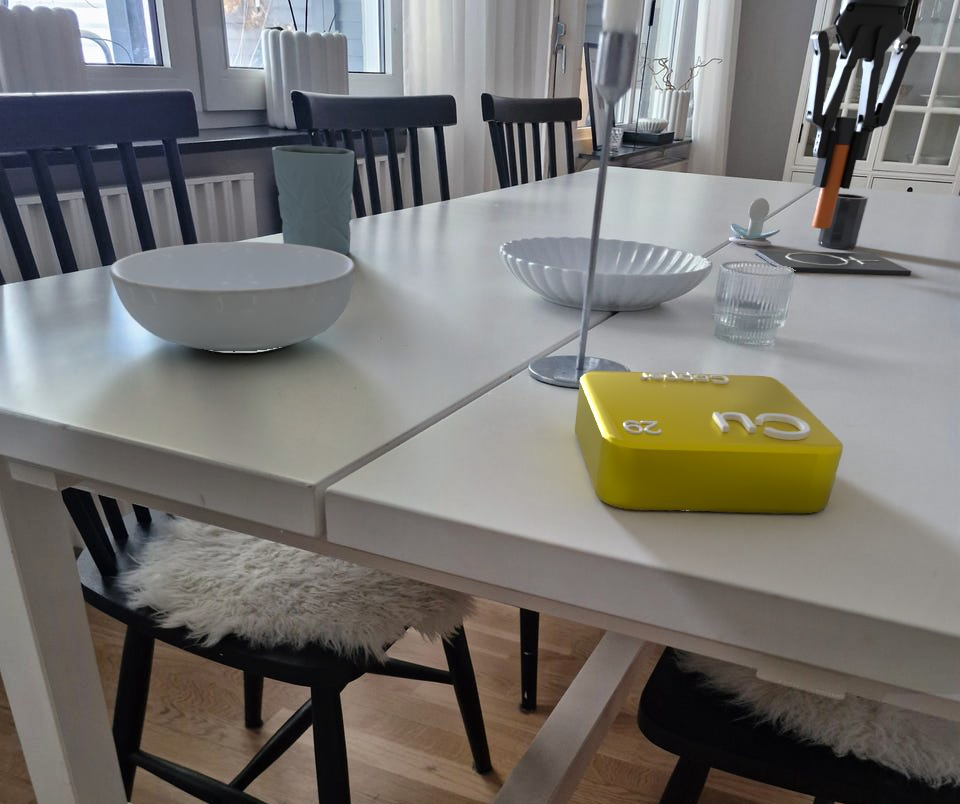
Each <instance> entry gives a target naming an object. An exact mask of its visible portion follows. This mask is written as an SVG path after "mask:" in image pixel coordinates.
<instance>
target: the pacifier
mask: <svg viewBox="0 0 960 804" xmlns="http://www.w3.org/2000/svg"><path fill="white" fill-rule="evenodd" d="M769 213H770V204H769V202H768V200H766V198H763V197H758V198H756V199H754V200H753V201H752V202H751V203H750V204H749V207H748V218H749V222H748V228H747V229H746V228H744V227H742V226H740V225H738V224H736V223H731V225H730V228H731V230H732V231H733V232H734V233H735V234H736V235H735V236H730V237H729V238H728V240H729V241H730V242H731V241H732V242H731V243H734V242H735V243H734V244H738V243H739V245H744V244H746V245H745V246H753V245H754V247H768V246H770V245H772V241H770V240H768V239H767V238H770V237H773V236H775V235H776V234H778V233H779V232H780V231H781V229H780V228H779V229H777V230H773V231H768V232H765V233H762V232H763V229H764V223H765V219H766V218H767V217H768V215H769Z"/></svg>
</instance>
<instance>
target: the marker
mask: <svg viewBox="0 0 960 804" xmlns="http://www.w3.org/2000/svg"><path fill="white" fill-rule="evenodd" d="M856 122H857V117H855V116H840V115H839V116H838V115H837V118H836V121H835V124H834V126H833V128H832V130H834V131H838V135H837V140H836V144H835V148H834V152H833V157H832V161H831V165H830V170H829V174H828V178H827V182H826V187H825V188H820V189H819V193H818V198H817V202H816V205H815V211H814V216H813V219H812V224H811V227H812V228H814V229H820V230H821V229H829V228H830V227H831V223H832V218H833V214H834V210H835V206H836V202H837V198H838V193H840V185H841V181H842V177H843V173H844V169H845V164H846V160H847V156H848V152H849V148H850V145H851V143H852V139H853V135H854V131H856Z"/></svg>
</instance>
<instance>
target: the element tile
mask: <svg viewBox="0 0 960 804" xmlns="http://www.w3.org/2000/svg"><path fill="white" fill-rule="evenodd" d="M576 403H577V405H576V414H575V424H574V433H575V436H576V439H577V442H578V445H579V447H580V451H581V453H582V457H583V460H584V463H585V465H586V469H587V471H588V475H589V478H590V480H591V483H592V486H593V487H592V488H593V490H594V492H595V495H596V496H597V497H598V499H599V498H600V499H599V500H600V501H602V502H603V503H604V502H605V503H604V504H606V503H607V504H606V505H608V504H609V505H608V506H610V505H612V506H611V507H613V506H615V507H614V508H617V507H620V508H619V509H622V508H625V509H624V510H628V509H637V510H636V511H650V510H684V511H683V512H687V511H686V510H689V511H688V512H693V511H715V512H714V513H736V512H737V513H738V512H740V513H742V514H779V513H781V514H783V515H784V513H786V514H789V515H806V514H805V513H809V514H814V513H818V511H819V512H821V511H823V510H824V509H825V508H826V507H827V506H828V503H829V500H830V497H831V493H832V489H833V487H834V483H835V478H836V475H837V472H838V468H839V464H840V460H841V457H842V454H843V448H844V444H843V442H842V441H840V439H839V438H838V437H837V436H836V435H835V434H834V433H833V432H832V431H830V429H829V428H828V427H827V426H826V425H825V424H824V423H823V422H822V421H821V420H820V419H819V418H818V417H817V416H816V415H815V414H814V413H813V412H812V411H811V410H810V409H809V408H808V407H807V406H806V405H805V404H804V403H803V402H802V401H801V400H800V399H799V398H798V397H797V396H796V395H795V394H794V393H793V392H792V391H791V390H790V389H789V388H788V387H787V386H786V385H785V384H784V383H782V382H780V381H779V380H778V379H776V378H774V377H772V376H767V375H766V376H765V375H749V374H748V375H745V374H744V375H743V374H715V373H713V374H711V373H710V374H709V373H691V372H686V373H684V372H683V373H681V372H679V373H677V372H675V371H672V372H653V371H651V372H649V371H646V372H645V371H619V370H618V371H617V370H616V371H614V370H589V371H587V372H586V373H584V374H583V375H582V376H580V378H579V386H578V394H577V402H576ZM640 509H642V510H640ZM717 511H718V512H717ZM813 512H814V513H813ZM790 513H791V514H790ZM738 514H739V513H738ZM786 514H785V515H786Z"/></svg>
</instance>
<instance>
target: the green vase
mask: <svg viewBox="0 0 960 804" xmlns="http://www.w3.org/2000/svg"><path fill="white" fill-rule="evenodd" d="M271 154H272V161H273V169H274V175H275V177H274V178H275V182H276V183H275V184H276V186H277V191H278V193H279V195H278V197H277V198H278V199H277V200H278V206H279V213H280V214H279V215H280V219H282V223H281V224H282V225H281V231H282V241H283V244H294V245H304V246H311V247H317V248H322V249H326V250H331V251H334V252H337V253H340V254H342V255H345V256H348V255H349V254H350V250H351V249H350V248H351V233H352V232H351V225H350V222H351V221H352V204H353V199H352V198H351V196H352V193H353V186H354V170H355V169H354V167H355V155H356V154H355V151H354V150H351V149H346V148H340V147H331V146H330V147H329V146H318V145H317V146H316V145H282V146H280V145H279V146H273V147H272V148H271Z"/></svg>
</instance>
